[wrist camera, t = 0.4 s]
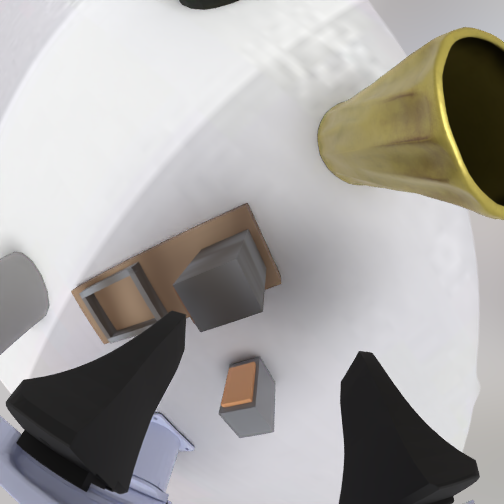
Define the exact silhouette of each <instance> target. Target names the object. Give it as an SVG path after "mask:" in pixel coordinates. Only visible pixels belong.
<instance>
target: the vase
mask: <svg viewBox="0 0 504 504" xmlns="http://www.w3.org/2000/svg"><path fill="white" fill-rule="evenodd" d="M318 145H319V151H320V155H321V157H322V159H323V161H324V163H325V164H326V166H327V167H328V169H329V170H330V171H331V172H332V173H333V174H334V175H335V176H337V177H338V178H340V179H341V180H343V181H345V182H347V183H349V184H354V185H367V186H372V187H380V188H387V189H392V190H397V191H404V192H411V193H417V194H421V195H424V196H427V197H431V198H434V199H437V200H441V201H445V202H448V203H452V204H455V205H458V206H461V207H463V208H466V209H469V210H472V211H474V212H476V213H479V214H481V215H484V216H486V217H489V218H493V219H501V220H504V42H503V41H502V40H500V39H499V38H497V37H496V36H494V35H492V34H490V33H487V32H484V31H481V30H479V29H475V28H467V27H463V28H460V29H457V30H453V31H451V32H449V33H446V34H443V35H441V36H439V37H437V38H435V39H433V40H431V41H430V42H428V43H427V44H425V45H424V46H422V47H421V48H419V49H418V50H417V51H415V52H413V53H412V54H411V55H409V56H408V57H406V58H405V59H404V60H403V61H401V62H400V63H399V64H398V65H396V66H395V67H394V68H392V69H391V70H390V71H388V72H387V73H386V74H384V75H383V76H382V77H380V78H379V79H378V80H377V81H375V82H374V83H373V84H371V85H370V86H368V87H367V88H365V89H364V90H362V91H361V92H359V93H358V94H357V95H355V96H354V97H352V98H351V99H349V100H348V101H346V102H342V103H339V104H337V105H336V106H334V107H332V108H331V109H330V110H329V111H328V112H327V113H326V114H325V116H324V117H323V119H322V121H321V123H320V126H319V129H318Z"/></svg>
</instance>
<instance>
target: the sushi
mask: <svg viewBox="0 0 504 504" xmlns="http://www.w3.org/2000/svg"><path fill="white" fill-rule="evenodd" d="M179 1H180V2H181V4H183V5H185V6H187V7H189V8H195V9H210V8H216V7H220V6H223V5H227V4H230V3H233V2H236V1H239V0H179Z"/></svg>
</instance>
